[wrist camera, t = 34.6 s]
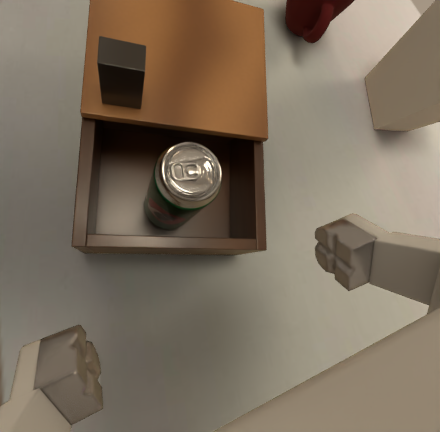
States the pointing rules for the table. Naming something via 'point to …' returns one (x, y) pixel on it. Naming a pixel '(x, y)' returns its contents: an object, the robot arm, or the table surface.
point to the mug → (312, 16)
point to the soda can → (182, 184)
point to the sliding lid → (177, 66)
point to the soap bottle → (408, 78)
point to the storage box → (138, 185)
